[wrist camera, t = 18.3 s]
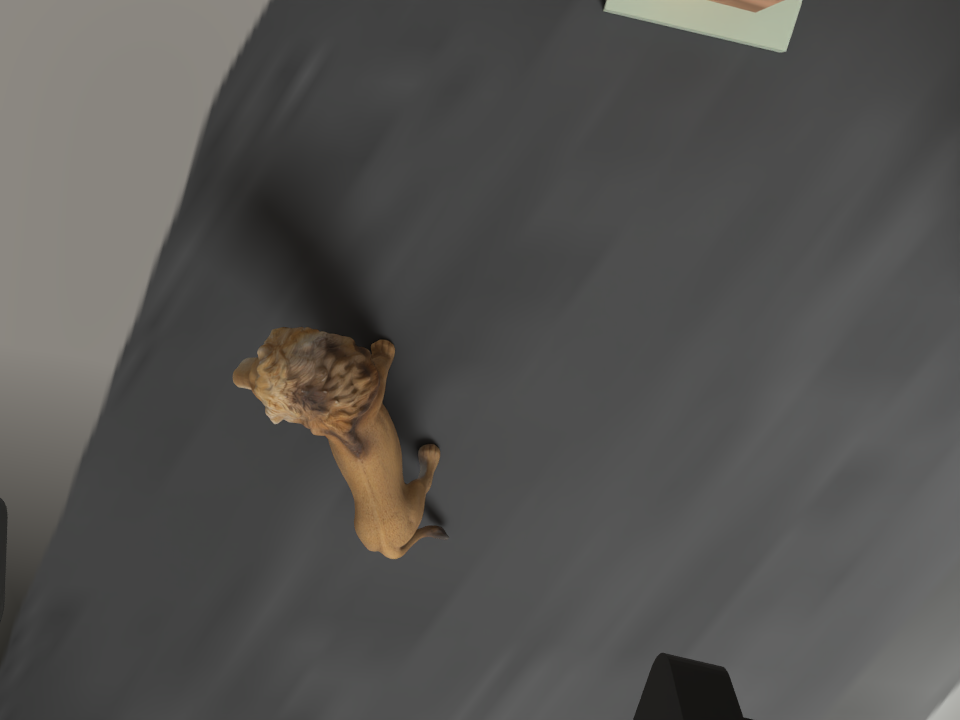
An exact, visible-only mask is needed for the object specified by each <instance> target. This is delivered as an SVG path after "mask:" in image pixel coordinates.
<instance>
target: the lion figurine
mask: <svg viewBox="0 0 960 720" xmlns="http://www.w3.org/2000/svg"><path fill="white" fill-rule="evenodd" d="M371 352H372V355H371V354H370V351H369V350H368V349H366V348H364V347H357V346H356V344H355V341H354V340H353V339H352V338H350V337H346V336H340V335H337V334H329V333H327V332H323V331H321V332H319V330H317V329H311V328H309V327H306V328H303V327H298V328H287V327H282V328H278V329H273V330H272V331H271V334H270V336H269V337H268V338H267V339H266V341H265V342H264V345H262V346H261V347H259V349H258V352H257V353H258V358H246V359H244V360H243V361H242V362H241V363H240V365H239V366H238V368H237V369H236V370H235V371H234V373H233V382H234V383H235V384H236V385H237V386H238V387H242V388H247V389H250V390H252V392H253V393H254V394H255V395H256V397H257V398H258V399H259V400H261V401H262V403H263V404H264V405H265V412H266V415H267V416H268V417H270V419H271V421H272V422H273V423H274V424H277V423H279V422H280V421H282V420H283V419H284V420H286V421H288V422H294V423H301V424H303V425H304V426H305V427H306V428H309V429H310V430H311V432H312V434H314V435H321V436H324V435H325V436H326V437H327V438H328V440H329V444H330V447H331V450H332V453H333V456H334V458H335V460H336V462H337V464H338V466H339V468H340V470H341V472H342V474H343V476H344V478H345V479H346V481H347V483H348V485H349V487H350V489H351V492H352V494H353V497H354V501H355V519H354V526H355V530H356V533H357V535H358V537H359V538H360V540H361V541H362V543H363V544H364V545H365V547H366V548H367V549H368V550H370V551H380V552H381V553H382V554H383V555H385V556H386V557H388V558H391V559H397V558H400V557H401V556H403V555H404V554H405V553H406V552H407V551H408V550H409V548H410V547H411V546H412V545H413V544H414V543H415V542H417V541H418V540H419V539H420V538H423V537H428V536H430V537H434V538H439V539H442V540H447V539H448V538H449V536H448V535H447V534H446V532H445V530H444V529H443V528H442V527H439V526H425V527H423V528H420V529H417V528H418V526H419V524H420V522H421V519H422V516H423V511H424V504H425V496H426V493H427V492H428V490H429V489H430V487H431V484H432V478H433V474H434V471H435V469H436V467H437V464H438V462H439V458H440V450H439V448H438V447H437V446H436V445H434V444H427V445H423V446H421V447H420V449H419V452H418V458H419V463H420V474H419V477H418V479H416V480H413V481H411V482H410V483H409V484H405V483H404V480H403V474H402V454H401V447H400V442H399V438H398V435H397V432H396V429H395V427H394V424H393V422H392V420H391V418H390V416H389V413H388V411H387V409H386V408H385V406H384V405H383V403H382V401H383V397H384V392H385V385H386V379H387V375H388V371H389V368H390V366H391V363H392V361H393V358H394V354H395V348H394V345H393V344H392V343H391V342H389V341H387V340H378V341H377V342H375V343H373V344H371Z"/></svg>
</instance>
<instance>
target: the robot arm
mask: <svg viewBox="0 0 960 720" xmlns="http://www.w3.org/2000/svg"><path fill="white" fill-rule="evenodd" d="M6 543H7V508H6V505H5V503H4V501H3V500H2V499H1V498H0V621H1V618H2V614H3V610H4V599H5V570H6ZM633 720H752V719H748V718H744V717H743V715H742V712H741V709H740V706H739V703H738V700H737V697H736V694H735V691H734V688H733V685H732V682H731V679H730V677H729V674H728V672H727V671H726V669H725V668H724V667H721V666H717V665H713V664H709V663H704V662H700V661H696V660H691V659H687V658H683V657H678V656H674V655H670V654H665V653H661V654H659V655H658V656H657V658H656V659H655V661H654V663H653V665H652V668H651V670H650V673H649V676H648V679H647V682H646V685H645V688H644V690H643V693H642V696H641V699H640V702H639V705H638V707H637V710H636V713H635V716H634V719H633Z"/></svg>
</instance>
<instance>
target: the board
mask: <svg viewBox="0 0 960 720" xmlns="http://www.w3.org/2000/svg"><path fill="white" fill-rule="evenodd" d="M801 3H802V0H784V1H781V2H779V3H777V4H774V5H772V6H770V7H767V8H765V9H763V10H761V11H758V12H756V13H755V12H751V11H747V10H743V9H739V8H736V7H732V6H728V5H724V4H720V3H716V2H713V1H709V0H606V2H605V6H604V10H603V11H605V12H609V13H613V14H618V15H622V16H626V17H631V18H635V19H639V20H643V21H648V22H652V23H656V24H660V25H665V26H669V27H673V28H678V29H682V30H686V31H690V32H695V33H699V34H703V35H708V36H712V37H716V38H720V39H725V40H729V41H733V42H737V43H742V44H746V45H750V46H755V47H759V48H763V49H767V50H772V51H776V52H780V53H781V52H786V50H787V47H788V44H789V41H790V38H791V35H792V31H793V28H794V25H795V22H796V19H797V16H798V13H799V10H800V7H801Z"/></svg>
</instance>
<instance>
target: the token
mask: <svg viewBox="0 0 960 720" xmlns="http://www.w3.org/2000/svg"><path fill="white" fill-rule="evenodd" d="M709 1H713V2H716V3H720V4H724V5H728V6H732V7H736V8H739V9H743V10H747V11H751V12H755V13H756V12H758V11H761V10H763V9H765V8H767V7H770V6H772V5H774V4H777V3H779V2H781V1H784V0H709Z"/></svg>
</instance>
